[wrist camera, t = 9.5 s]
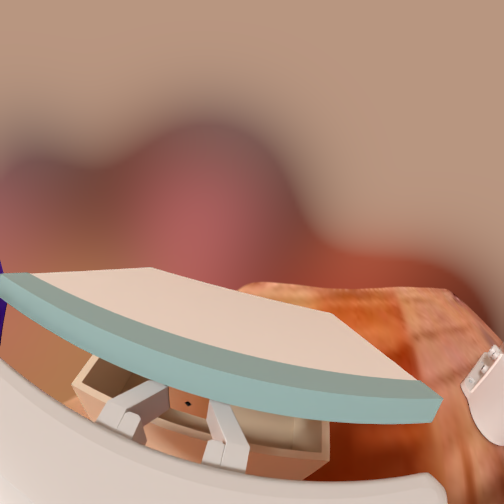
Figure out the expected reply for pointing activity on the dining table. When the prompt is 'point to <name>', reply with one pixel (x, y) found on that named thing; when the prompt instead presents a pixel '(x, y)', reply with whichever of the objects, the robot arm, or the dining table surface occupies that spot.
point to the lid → (223, 344)
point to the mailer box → (198, 434)
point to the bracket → (2, 309)
